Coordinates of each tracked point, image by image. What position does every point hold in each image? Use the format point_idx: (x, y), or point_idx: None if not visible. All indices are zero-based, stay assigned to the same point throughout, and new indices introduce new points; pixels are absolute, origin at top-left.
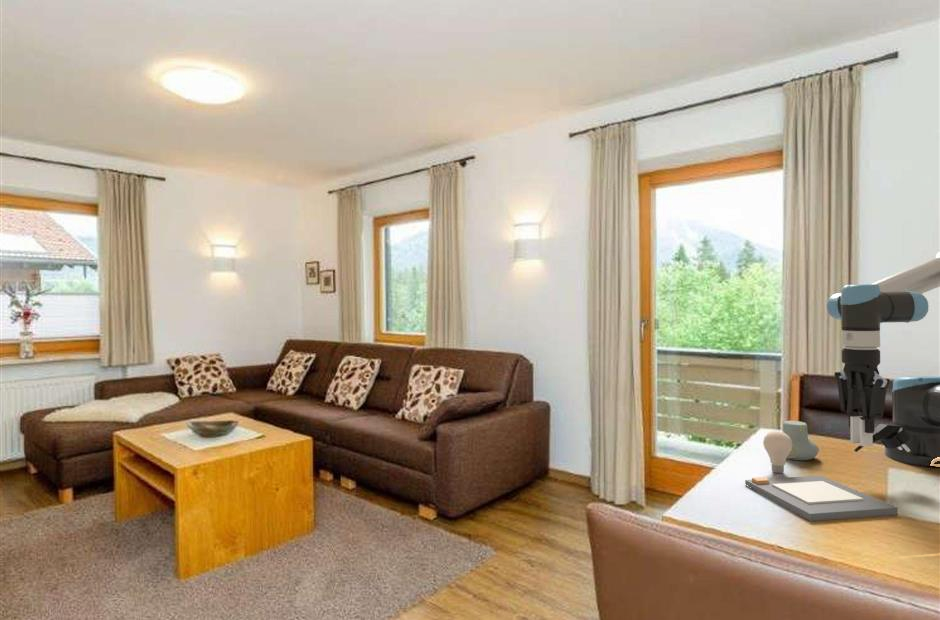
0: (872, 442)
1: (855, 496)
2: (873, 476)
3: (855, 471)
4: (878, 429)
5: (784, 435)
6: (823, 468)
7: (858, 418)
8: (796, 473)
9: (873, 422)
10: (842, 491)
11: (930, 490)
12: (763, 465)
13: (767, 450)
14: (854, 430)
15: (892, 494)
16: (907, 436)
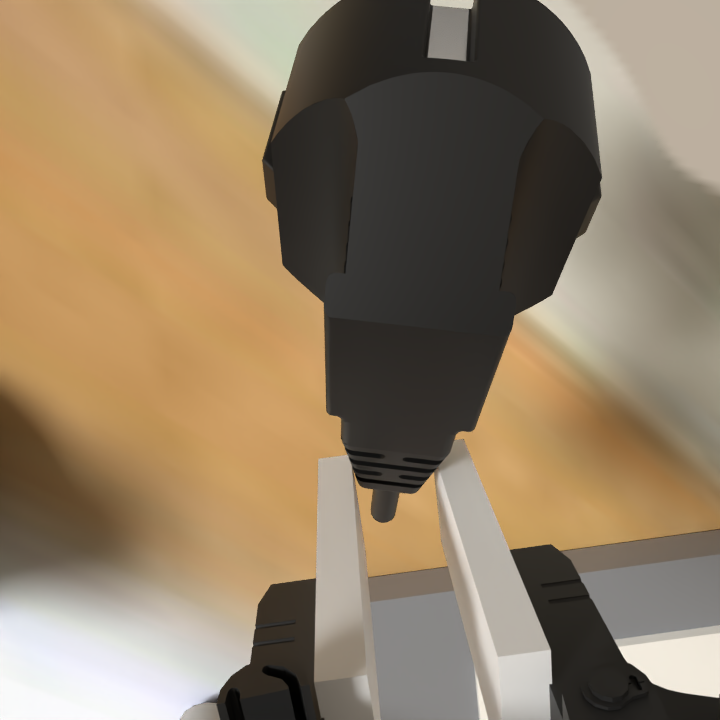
0: (468, 454)
1: (713, 646)
2: (253, 195)
3: (141, 245)
4: (428, 400)
5: None
6: (87, 421)
7: (375, 713)
8: (205, 624)
9: (617, 657)
10: (639, 661)
11: (560, 8)
12: (60, 716)
13: None
14: (372, 634)
15: (589, 332)
16: (591, 90)
